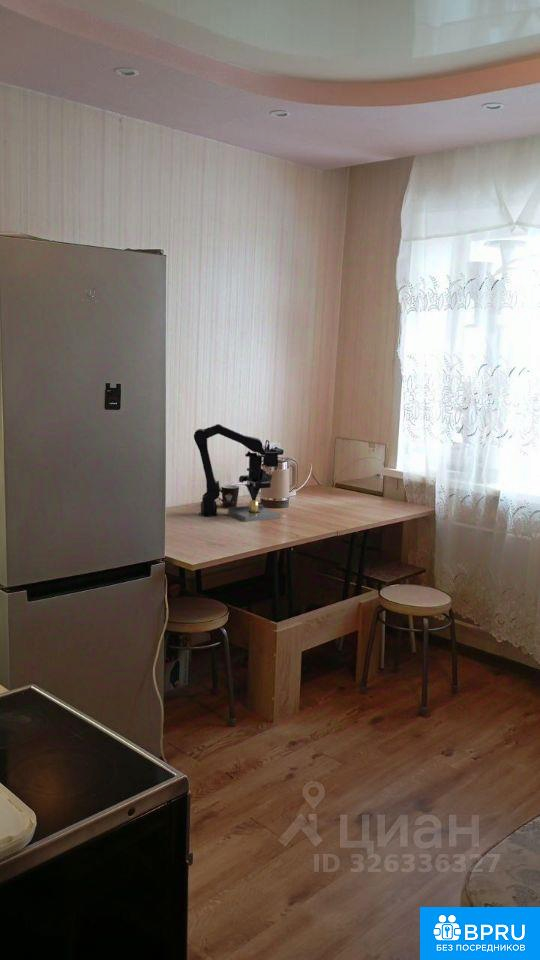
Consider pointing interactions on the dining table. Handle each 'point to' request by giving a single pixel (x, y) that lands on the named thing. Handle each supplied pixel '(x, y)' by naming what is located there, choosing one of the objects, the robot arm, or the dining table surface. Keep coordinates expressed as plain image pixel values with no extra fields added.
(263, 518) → the jig
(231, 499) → the coffee mug
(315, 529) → the dining table surface
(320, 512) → the dining table surface
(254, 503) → the gold rounded cylinder
